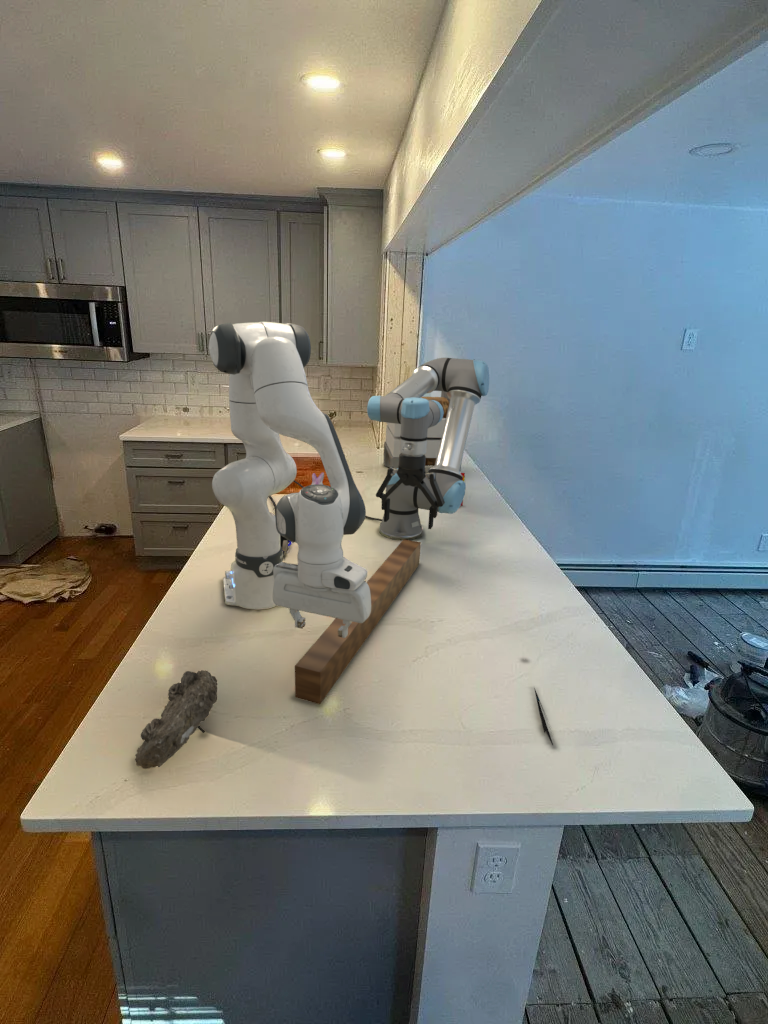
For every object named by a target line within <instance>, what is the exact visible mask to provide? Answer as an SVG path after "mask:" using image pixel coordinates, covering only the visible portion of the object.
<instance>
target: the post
mask: <svg viewBox="0 0 768 1024" xmlns="http://www.w3.org/2000/svg"><path fill="white" fill-rule="evenodd" d="M421 545H422V542H421V541H417V540H412V539H411V540H405V539H403V540H401V542H399V544H398V545H397V546H396V547H395V548H394V549H393V551H392V552H391V553H390V554H389V555H388V557H386V559H385V560H384V561H383V563H382V564H381V565H380V566H379V567H378V568H377V569H376V570H375V572H374V573H372V575H371V576H370V578H368V580H367V581H365V582H366V583H367V584H368V586H369V588H370V594H371V613H370V615H369V617H368V618H367V619H366V620H365V621H364V622H363V623H357V622H352V623H351V624H350V626H349V627H348V635H347V636H346V638H343V637H338V629H339V628H340V627H341V625H342V626H345V625H346V624H343V619H338V618H334V620H333V621H332V622H331V623H330V624H329V625H328V626H327V627H326V628H325V630H324V631H323V632H322V633H321V635H319V637H318V638H317V639H316V640H315V642H314V643H312V645H311V646H310V648H309V649H308V650H307V651H306V652H305V653H304V655H302V657H301V658H300V659H299V660H298V661H297V662H296V663H295V665H294V698H295V699H299V700H303V701H306V702H310V703H314V704H318V705H321V704H322V703H323V701H324V700H325V698H326V697H327V695H328V694H329V693H330V691H332V688H333V687H334V686H335V685H336V683H337V682H338V680H339V678H340V677H341V676H342V674H343V673H344V672H345V670H346V669H347V667H349V666H348V665H349V664H350V663H351V661H353V659H354V657H355V656H356V654H357V653H358V652H359V650H360V649H361V647H362V646H363V645H364V643H365V641H366V640H367V639H368V638H369V636H370V635H371V634H372V632H373V630H374V629H375V628H376V626H377V625H378V624H379V622H380V621H381V619H382V618H383V616H384V615H385V613H387V611H388V610H389V608H390V607H391V605H392V604H393V602H394V601H395V600H396V598H397V597H398V595H399V594H400V592H401V591H402V590H403V588H404V587H405V586H406V584H407V583H408V581H409V580H410V578H411V577H412V576H413V574H414V573H415V571H416V569H417V568H418V567H419V566H420V559H421Z"/></svg>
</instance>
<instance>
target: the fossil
mask: <svg viewBox="0 0 768 1024" xmlns="http://www.w3.org/2000/svg"><path fill="white" fill-rule="evenodd" d="M167 698H168V701H167V703H166V705H165V706H164V708H163V709H162V712H161V714H160V718H157V717H156V718H153V719H152V720H151V721H150V722H149V723H147V724H146V725H145V727H144V728H143V729H142V731H141V733H140V738H141V740H142V743H141V744H140V746H139V747H138V748H137V749H136V753H135V755H134V756H135V757H134V762H135V764H136V766H137V767H141V768H142V769H143V770H144V769H145V770H146V769H151V768H156V767H157V768H161V767H162V766H163V765H165V763H166V762H167V761H168V760H169V759H171V758H172V757H173V756H174V755H175V754H177V752H178V751H179V750H180V749H181V748H182V747H184V746H185V744H187V743H188V741H189V739H190V737H191V736H192V735H193V734H195V732H196V731H197V730H199V731H200V732H201V733H202V734H205V733H206V730H205V729H204V728H203V726H201V723H202V722H205V721H206V720H207V718H208V717H209V716H210V712H211V711H212V709H213V707H214V705H215V703H217V702H218V679H217V677H216V676H215V675H212V674H211V672H209V670H206V669H205V670H203V669H202V670H198V671H197V672H195V671H191V670H185V672H183V674H182V677H181V678H180V682H177V683H173V684H172V685H171V686H170V687H169V688H168V693H167Z"/></svg>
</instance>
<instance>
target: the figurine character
mask: <svg viewBox="0 0 768 1024" xmlns="http://www.w3.org/2000/svg"><path fill="white" fill-rule="evenodd" d="M292 545H293V543H292V542H291V541H289V540H287V539H286V538H284V537H283V536H281V535H280V546H281V547H282V552H283V556H285V553H286V552H288V551H289V547H290V546H292Z"/></svg>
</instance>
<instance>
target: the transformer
mask: <svg viewBox="0 0 768 1024" xmlns="http://www.w3.org/2000/svg"><path fill="white" fill-rule="evenodd" d="M399 385H400V384H398V385H397V386H399ZM440 393H441V394H440V396H422V397H421V398H424V399H427V400H435V401H438V402H439V403H440V404H441V405H442V407H443V411H444V414H443V418H442V420H441V421H440V422H439V423H437V425H435V426H432V427H430V428H428V431H427V445H426V453H425V454H424V455H425V456H426V460H425V467H433V466H434V465H435V462H436V458H437V454H438V449H439V445H440V441H441V437H442V433H443V428H444V424H445V420H446V416H447V411H448V407H449V403H450V399H449V397H448V396H447V392H444V391H440ZM385 423H386V428H385V438H384V442H383V466H384V467H388V468H390V467H394V468H395V469H397V468H399V455H400V454H401V452H400V436H401V424H395V423H387V422H385ZM460 472H461V473H462V465H461V466H460Z"/></svg>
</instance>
